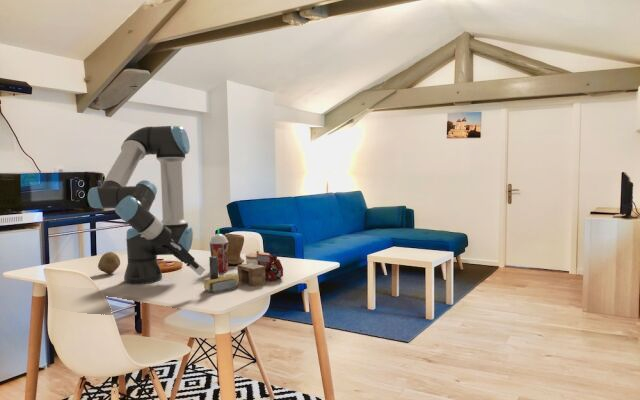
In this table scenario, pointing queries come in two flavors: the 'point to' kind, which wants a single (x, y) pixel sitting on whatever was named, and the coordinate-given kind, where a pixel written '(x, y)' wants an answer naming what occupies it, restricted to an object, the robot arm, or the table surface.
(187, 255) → the robot arm
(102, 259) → the natural sponge
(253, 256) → the lidded jar
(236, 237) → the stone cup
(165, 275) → the table surface
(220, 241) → the smoothie
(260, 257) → the toy fire truck
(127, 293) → the table surface
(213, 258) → the brass block with handle
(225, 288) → the channel
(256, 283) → the socket
